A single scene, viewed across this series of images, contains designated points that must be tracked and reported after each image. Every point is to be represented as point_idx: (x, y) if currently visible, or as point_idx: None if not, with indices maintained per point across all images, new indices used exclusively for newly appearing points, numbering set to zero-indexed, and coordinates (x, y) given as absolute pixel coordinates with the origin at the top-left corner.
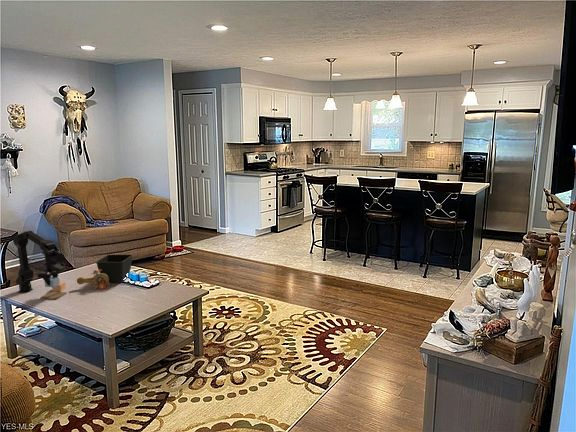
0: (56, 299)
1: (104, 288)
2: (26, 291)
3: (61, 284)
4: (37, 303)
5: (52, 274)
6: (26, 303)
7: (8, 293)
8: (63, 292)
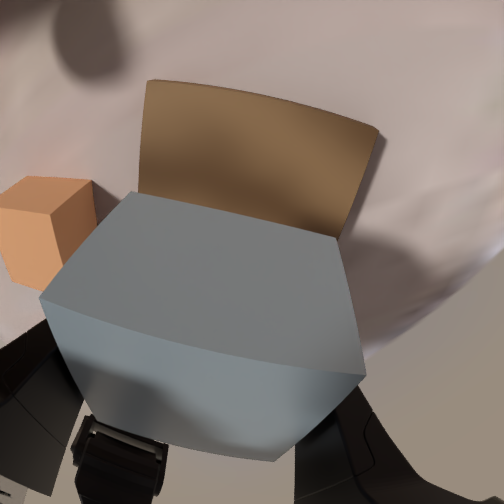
0: (368, 125)
1: None
2: None
3: (32, 214)
4: (419, 274)
5: (56, 448)
6: (383, 340)
7: None
8: (156, 114)
